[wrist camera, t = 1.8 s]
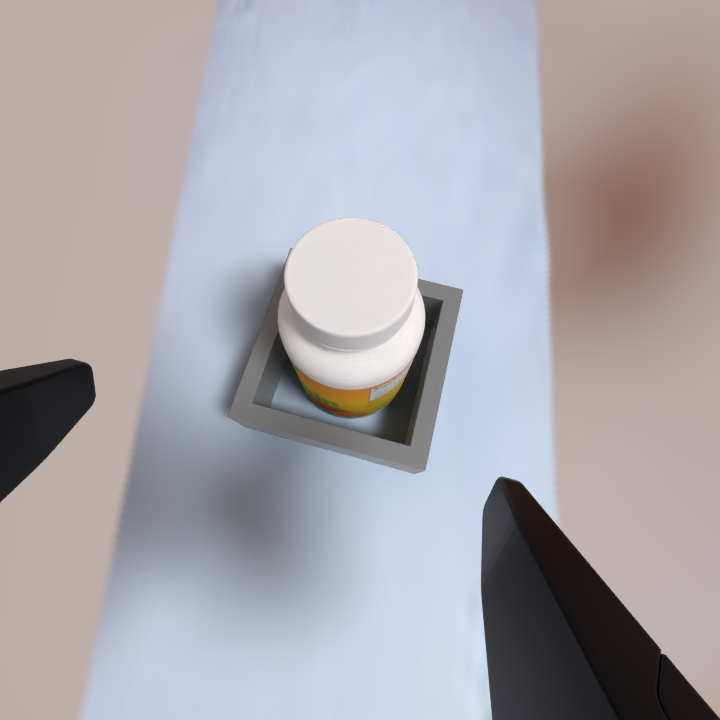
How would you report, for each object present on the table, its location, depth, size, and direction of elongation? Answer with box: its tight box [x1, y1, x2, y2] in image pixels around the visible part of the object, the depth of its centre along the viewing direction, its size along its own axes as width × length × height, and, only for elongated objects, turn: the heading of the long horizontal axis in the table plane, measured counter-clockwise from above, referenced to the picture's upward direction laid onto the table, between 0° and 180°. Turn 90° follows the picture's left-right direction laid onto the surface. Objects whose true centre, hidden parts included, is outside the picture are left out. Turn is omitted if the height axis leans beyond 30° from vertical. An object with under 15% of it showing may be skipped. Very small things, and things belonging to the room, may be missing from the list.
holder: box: [228, 248, 463, 474], centre depth 20 cm, size 9×9×3 cm
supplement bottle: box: [278, 218, 425, 419], centre depth 16 cm, size 5×5×10 cm
